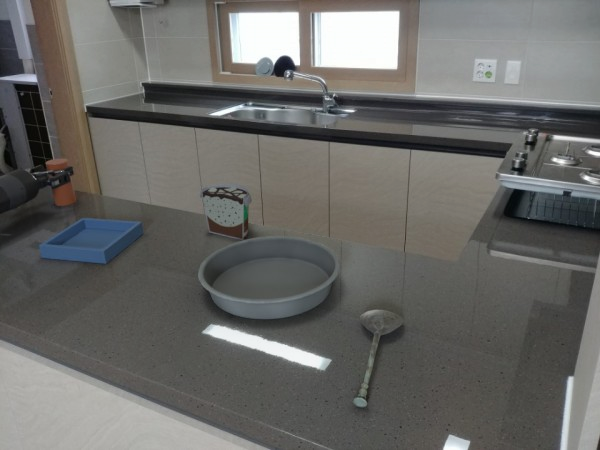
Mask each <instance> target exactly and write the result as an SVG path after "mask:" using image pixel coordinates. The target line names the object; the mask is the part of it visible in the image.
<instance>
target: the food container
mask: <svg viewBox="0 0 600 450" xmlns="http://www.w3.org/2000/svg"><path fill="white" fill-rule="evenodd" d="M199 198H201V199H202V203H203V208H204V209H203V210H204V214H205V219H206V224H207V230H208V233H210V234H214V235H218V236H223V237H227V238H230V239H234V240H235V239H236V240H238V241H242V240H247V239H248V236H249V210H250V209H249V208H250V205H251V204H252V201H253V199H252V195H251V192H250V191H249V189H248V188H247V187H246V186H244V185H241V184H235V183H220V184H219V183H217V184H212V185H208V186H204V187H202V188H200V191H199Z"/></svg>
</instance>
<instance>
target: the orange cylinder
mask: <svg viewBox="0 0 600 450" xmlns="http://www.w3.org/2000/svg"><path fill="white" fill-rule="evenodd" d="M45 166H46V171H50V170H52V171H53V172H55V171H60V170H62V169H65V168H67V167H69V166H70V164H69V159H67V158H53V159H50V160H47V161H46V162H45ZM57 175H58V174H57ZM47 176H48V180H50V178H51V175H50V174H48V175H47ZM55 176H56V175H55ZM72 177H73V176H70V179H71V182H69V183H67V184H65V185H62V186H60V187H58V188H56V189H52V188H51V187H50V188H51V189H50V190H51V193H52V197H53V201H54V205H55V206H58V207H65V206H70V205H73V204H75V203H76V202H77V197H76V191H75V187H74V182H73V179H72Z"/></svg>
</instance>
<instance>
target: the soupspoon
mask: <svg viewBox="0 0 600 450" xmlns="http://www.w3.org/2000/svg"><path fill="white" fill-rule="evenodd" d="M359 320H360V322H361V324H362V325H363V327H365V328H366V329H367V330H368V331H370V332H371V333H372V334H373V337H372V342H371V346H370V350H369V356H368V359H367V364H366V365H367V366H366V368H365V369H366V370H365V372H364V373H365V374H364V377H363V378H364V379H363V383H361V384H360V386H361V388H360V389H359V391H358V394H357V396H356V397H355V398H354V399H353V400H352V402H353V404H354V405H355V406H356V407H359V408H366V407H367V406H368V402H367V397H366V396H367V394H368V388H369V383H370V379H371V375H372V372H373V367H374V363H375V359H376V354H377V350H378V347H379V344H380V341H381V336H384V335H387V334H390V333H392V332H394V331H395V330H397V329H399V328H400V327H401V326H402V325H403V324H404V319H403V318H402V317H401V316H400V315H399V314H397V313H394V312H392V311H389V310H386V309H372V310H368V311H365V312H363V313H362V314H361V315H360V316H359Z"/></svg>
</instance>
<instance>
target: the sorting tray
mask: <svg viewBox="0 0 600 450" xmlns="http://www.w3.org/2000/svg"><path fill="white" fill-rule="evenodd" d="M142 235H144V227H143V222H142V221H136V220H135V221H134V220H119V219H104V218H91V217H81V218H80V219H79V220H76V221H75V222H73V223H72V224H70V225H69V226H67V227H66V228H63V230H61V231H59V232H58V233H56V234H55V235H53V236H51V237H49V238H48V239H47V240H45V241H43V242H42V243H40V244H39V245H38V250H39V253H40V256H41V257H40V258H41V259H48V260H49V259H50V260H59V261H60V260H61V261H71V262H80V263H81V262H82V263H94V264H101V265H102V264H103V265H104V264H105V265H106V264H108V263H109V262H111V260H113V259H114V258H116V257H117V255H119V254H120V253H121V252H123V251H124V250H125V249H126V248H127V247H129V246H130V245H131V244H133V243H134V242H135V241H136V240H138V238H141V236H142Z"/></svg>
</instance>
